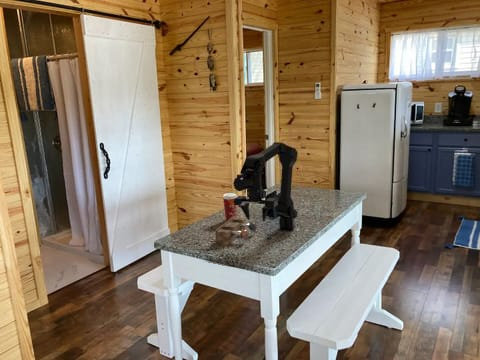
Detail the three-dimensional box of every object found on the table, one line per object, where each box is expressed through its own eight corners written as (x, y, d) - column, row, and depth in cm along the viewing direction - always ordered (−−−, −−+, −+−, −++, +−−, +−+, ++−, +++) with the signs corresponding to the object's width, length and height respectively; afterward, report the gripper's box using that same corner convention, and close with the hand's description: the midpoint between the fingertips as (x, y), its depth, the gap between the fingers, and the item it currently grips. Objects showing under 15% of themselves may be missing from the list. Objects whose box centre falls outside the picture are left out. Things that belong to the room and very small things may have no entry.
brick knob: (248, 237, 178) (248, 228, 177) (245, 240, 175) (244, 231, 174) (232, 235, 181) (232, 227, 181) (228, 238, 178) (228, 230, 177)
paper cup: (233, 223, 203) (231, 197, 200) (221, 221, 207) (219, 195, 204) (241, 218, 209) (240, 193, 206) (229, 217, 213) (227, 192, 210)
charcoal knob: (256, 229, 187) (256, 221, 186) (253, 232, 184) (253, 224, 183) (241, 227, 190) (240, 219, 189) (237, 230, 187) (237, 222, 186)
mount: (245, 229, 193) (245, 217, 192) (228, 245, 175) (227, 231, 174) (234, 228, 195) (234, 216, 194) (216, 243, 178) (215, 230, 176)
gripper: (281, 182, 172) (282, 216, 176) (242, 180, 180) (244, 213, 183) (272, 188, 162) (274, 224, 166) (231, 186, 170) (234, 220, 174)
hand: (256, 220), depth 172 cm, fingers open, 7 cm apart
